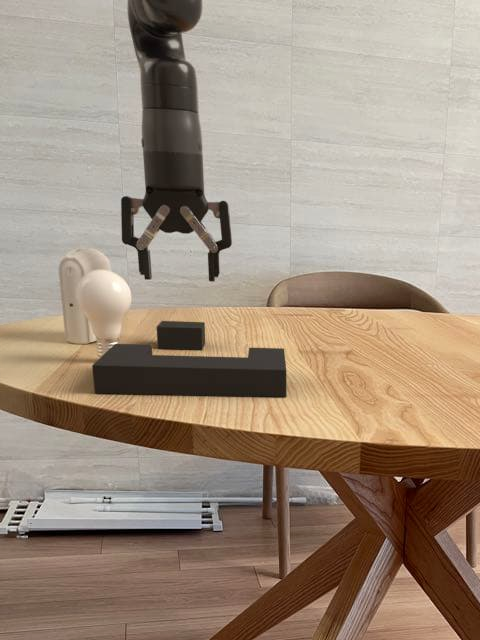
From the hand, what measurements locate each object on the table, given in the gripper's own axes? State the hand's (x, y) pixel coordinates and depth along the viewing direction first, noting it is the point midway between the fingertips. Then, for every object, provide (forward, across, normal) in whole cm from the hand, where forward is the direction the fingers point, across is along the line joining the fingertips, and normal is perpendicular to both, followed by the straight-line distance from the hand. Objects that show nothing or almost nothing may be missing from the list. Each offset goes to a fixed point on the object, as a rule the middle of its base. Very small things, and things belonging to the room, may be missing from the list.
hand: (180, 280), depth 114 cm
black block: (+9, 0, 0) cm, 9 cm away
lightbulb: (+9, +8, +13) cm, 18 cm away
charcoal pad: (+9, -4, +25) cm, 27 cm away
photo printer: (+9, +13, -4) cm, 17 cm away
